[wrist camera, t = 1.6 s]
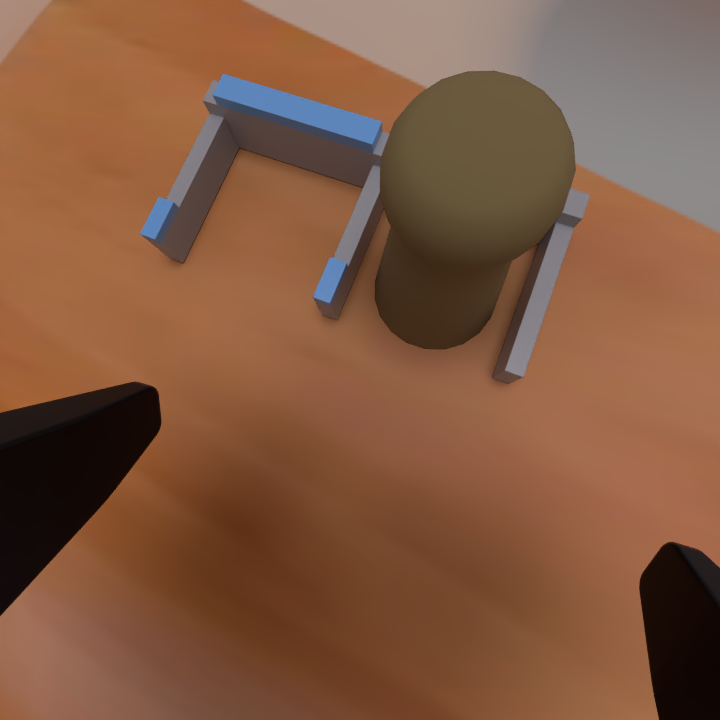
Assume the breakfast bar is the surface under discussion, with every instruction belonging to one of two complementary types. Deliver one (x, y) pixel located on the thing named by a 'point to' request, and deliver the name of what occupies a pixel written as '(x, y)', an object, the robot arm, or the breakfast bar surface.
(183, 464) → the breakfast bar surface
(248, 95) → the slotted rack
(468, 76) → the cork
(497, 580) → the breakfast bar surface
